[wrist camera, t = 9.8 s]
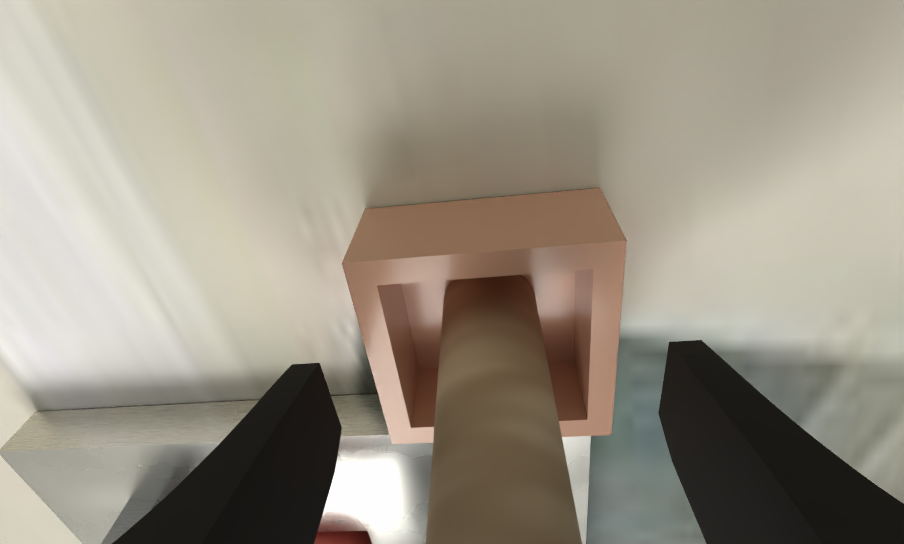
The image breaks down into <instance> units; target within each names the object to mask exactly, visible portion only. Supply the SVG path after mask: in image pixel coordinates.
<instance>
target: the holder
mask: <svg viewBox="0 0 904 544" xmlns="http://www.w3.org/2000/svg"><path fill="white" fill-rule="evenodd" d="M626 241H627V240H626V238H625V236H624V234H623V233H622V231H621V229H620V227H619V225H618V223H617V221H616V219H615V217H614V215H613V213H612V211H611V209H610V207H609V205H608V203H607V201H606V199H605V197H604V195H603V193H602V191H601V189H600V188H592V189H581V190H570V191H559V192H548V193H537V194H526V195H515V196H504V197H493V198H482V199H470V200H459V201H448V202H437V203H426V204H415V205H404V206H393V207H382V208H371V209H365V210H364V213H363V215H362V217H361V220H360V222H359V224H358V227H357V229H356V231H355V234H354V236H353V238H352V241H351V243H350V245H349V248H348V250H347V252H346V255H345V257H344V259H343V262H342V265H343V269H344V273H345V276H346V280H347V283H348V287H349V291H350V294H351V298H352V301H353V305H354V309H355V312H356V316H357V319H358V323H359V327H360V330H361V334H362V338H363V341H364V345H365V348H366V352H367V356H368V359H369V363H370V366H371V370H372V374H373V377H374V381H375V384H376V388H377V392H378V395H379V399H380V403H381V406H382V410H383V413H384V417H385V421H386V424H387V428H388V431H389V435H390V439H391V442H392V444H411V443H433V437H434V423H435V410H436V396H437V383H438V369H439V356H440V342H441V329H442V315H443V301H444V295H445V292H446V290H447V288H448V286H449V285H450V283H451V282H452V281H453V280H456V279H470V278H483V277H497V276H510V275H522V276H523V277H525V278H526V279H527V281H528V282H529V283H530V285H531V286H532V288H533V290H534V293H535V298H536V303H537V308H538V314H539V319H540V324H541V330H542V335H543V340H544V345H545V351H546V356H547V361H548V366H549V372H550V377H551V382H552V387H553V393H554V398H555V403H556V409H557V414H558V419H559V424H560V430H561V435H562V437H576V436H599V435H611V431H612V419H613V406H614V393H615V381H616V368H617V355H618V343H619V330H620V317H621V305H622V292H623V279H624V267H625V254H626Z"/></svg>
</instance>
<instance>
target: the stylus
mask: <svg viewBox="0 0 904 544" xmlns="http://www.w3.org/2000/svg"><path fill="white" fill-rule="evenodd" d="M426 544H582V540H581V535H580V530H579V524H578V519H577V514H576V509H575V503H574V498H573V493H572V487H571V482H570V477H569V472H568V466H567V461H566V456H565V451H564V445H563V440H562V435H561V430H560V424H559V419H558V414H557V409H556V403H555V398H554V393H553V387H552V382H551V377H550V372H549V366H548V361H547V356H546V351H545V345H544V340H543V335H542V330H541V324H540V319H539V314H538V308H537V303H536V298H535V293H534V290H533V288H532V286H531V285H530V283H529V282H528V281H527V279H526V278H525V277H523V276H522V275H510V276H497V277H483V278H470V279H456V280H453V281H452V282H451V283H450V285H449V286H448V288H447V290H446V292H445V295H444V301H443V315H442V329H441V342H440V356H439V369H438V383H437V396H436V410H435V423H434V437H433V450H432V464H431V478H430V491H429V505H428V518H427V532H426Z"/></svg>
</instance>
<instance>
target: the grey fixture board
mask: <svg viewBox="0 0 904 544" xmlns="http://www.w3.org/2000/svg"><path fill="white" fill-rule="evenodd" d="M331 398H332V401H333V403H334V406H335V409H336V412H337V415H338V418H339V421H340V424H341V426H342V431H341V437H340V444H339V450H338V456H337V462H336V467H335V473H334V477H333V480H332V484H331V488H330V491H329V494H328V498H327V501H326V505H325V508H324V512H323V515H322V518H321V522H320V525H319V528H318V532H335V531H368V534H369V537H370V539H371V542H372V544H426V532H427V518H428V505H429V491H430V478H431V464H432V450H433V443H411V444H392V442H391V439H390V435H389V431H388V428H387V424H386V421H385V417H384V413H383V410H382V406H381V403H380V399H379V395H378V394H364V395H345V396H331ZM258 401H259V400H250V401H231V402H212V403H193V404H174V405H155V406H136V407H117V408H98V409H80V410H61V411H42V412H35V413H34V414H33V415H32V416H31V417H30V418H29V419H28V420H27V421H26V422H25V423H24V424H23V426H22V427H21V428H20V429H19V430H18V431H17V432H16V433H15V434H14V435H13V436H12V437H11V438H10V439H9V440H8V441H7V442H6V443H5V444H4V446H3V447H2V448H1V449H0V455H1V456H2V457H3V459H4V460H5V461H6V462H7V463H8V464H9V465H10V466H11V467H12V468H13V469H14V470H15V471H16V473H17V474H18V475H19V476H20V477H21V478H22V479H23V480H24V481H25V482H26V483H27V484H28V485H29V486H30V488H31V489H32V490H33V491H34V492H35V493H36V494H37V495H38V496H39V497H40V498H41V499H42V500H43V501H44V503H45V504H46V505H47V506H48V507H49V508H50V509H51V510H52V511H53V512H54V513H55V514H56V515H57V517H58V518H59V519H60V520H61V521H62V522H63V523H64V524H65V525H66V526H67V527H68V528H69V529H70V530H71V532H72V533H73V534H74V535H75V536H76V537H77V538H78V539H79V540H80V541H81V542H82V543H83V544H112V543H113V542H114V541H116V540H117V539H118V538H119V537H120V536H122V535H123V534H124V533H125V532H126V531H127V530H129V529H130V528H131V527H132V526H133V525H134V524H136V523H137V522H138V521H139V520H140V519H141V518H142V517H144V516H145V515H146V514H147V513H148V512H149V511H151V510H152V509H153V508H154V507H155V506H156V505H157V504H158V503H159V502H160V501H162V500H163V499H164V498H165V497H166V496H167V495H168V494H169V493H170V492H171V491H172V490H173V489H174V488H176V487H177V486H178V485H179V484H180V483H181V482H182V481H183V480H184V479H185V478H186V477H187V476H188V475H189V474H190V473H191V472H192V471H193V470H194V469H195V468H196V467H197V466H198V465H199V464H200V463H201V462H202V461H203V460H204V459H205V458H206V457H207V456H208V455H209V454H210V453H211V452H212V451H213V450H214V449H215V448H216V447H217V446H218V445H219V444H220V443H221V442H222V440H223V439H224V438H225V437H226V436H227V435H228V434H229V433H230V432H231V431H232V430H233V429H234V428H235V426H236V425H237V424H238V423H239V422H240V421H241V420H242V419H243V418H244V417H245V416H246V415H247V414H248V412H249V411H250V410H251V409H252V408H253V407H254V406H255V405H256V404H257V402H258ZM562 440H563V445H564V451H565V456H566V461H567V466H568V472H569V477H570V482H571V487H572V493H573V498H574V503H575V509H576V514H577V519H578V524H579V530H580V535H581V540H582V544H586V530H587V508H588V487H589V465H590V444H591V436H576V437H562Z"/></svg>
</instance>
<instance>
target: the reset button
mask: <svg viewBox="0 0 904 544" xmlns="http://www.w3.org/2000/svg"><path fill="white" fill-rule="evenodd" d="M314 544H372V542H371V539H370V537H369V534H368V531H335V532H317V535H316V538H315V542H314Z"/></svg>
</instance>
